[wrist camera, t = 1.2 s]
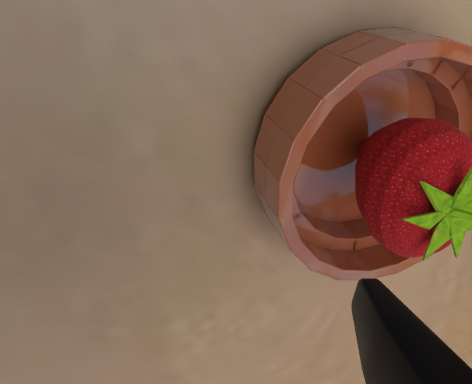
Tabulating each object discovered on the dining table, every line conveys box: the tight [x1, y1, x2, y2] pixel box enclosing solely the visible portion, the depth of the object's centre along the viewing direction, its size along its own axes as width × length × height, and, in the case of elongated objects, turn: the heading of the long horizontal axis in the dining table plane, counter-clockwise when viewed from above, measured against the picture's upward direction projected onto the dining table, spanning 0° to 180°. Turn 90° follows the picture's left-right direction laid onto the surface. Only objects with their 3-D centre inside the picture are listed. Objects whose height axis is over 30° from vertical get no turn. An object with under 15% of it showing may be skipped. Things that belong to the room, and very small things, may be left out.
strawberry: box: [355, 118, 472, 261], centre depth 21 cm, size 6×8×10 cm
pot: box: [254, 27, 472, 281], centre depth 23 cm, size 14×14×5 cm
